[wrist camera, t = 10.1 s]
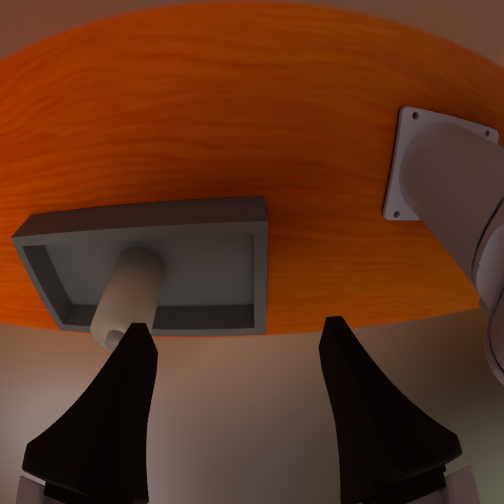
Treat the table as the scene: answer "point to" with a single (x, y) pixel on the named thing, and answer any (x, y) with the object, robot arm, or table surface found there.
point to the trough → (170, 252)
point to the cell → (128, 296)
